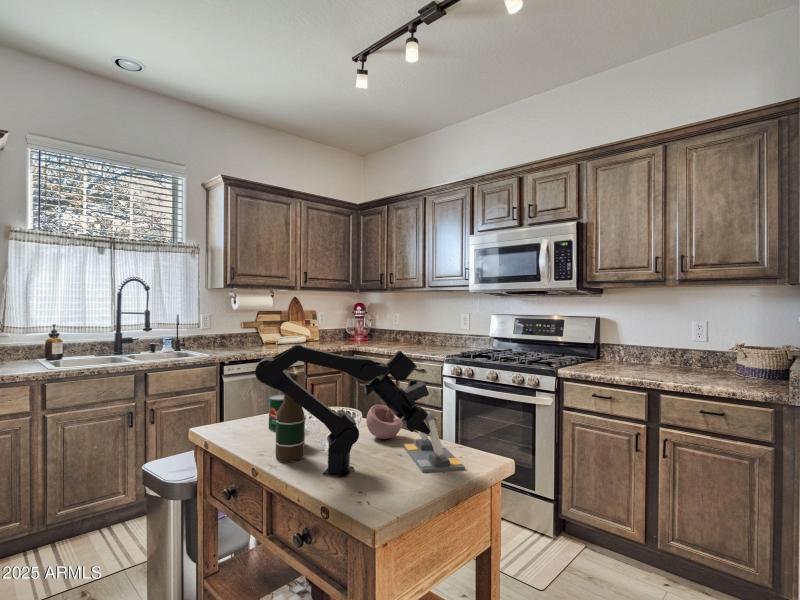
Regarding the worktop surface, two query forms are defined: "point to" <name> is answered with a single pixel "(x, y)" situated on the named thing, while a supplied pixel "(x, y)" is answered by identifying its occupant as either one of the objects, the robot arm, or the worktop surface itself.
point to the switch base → (426, 454)
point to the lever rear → (423, 435)
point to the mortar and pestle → (383, 422)
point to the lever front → (434, 435)
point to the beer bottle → (290, 430)
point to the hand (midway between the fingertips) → (428, 432)
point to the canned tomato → (274, 410)
